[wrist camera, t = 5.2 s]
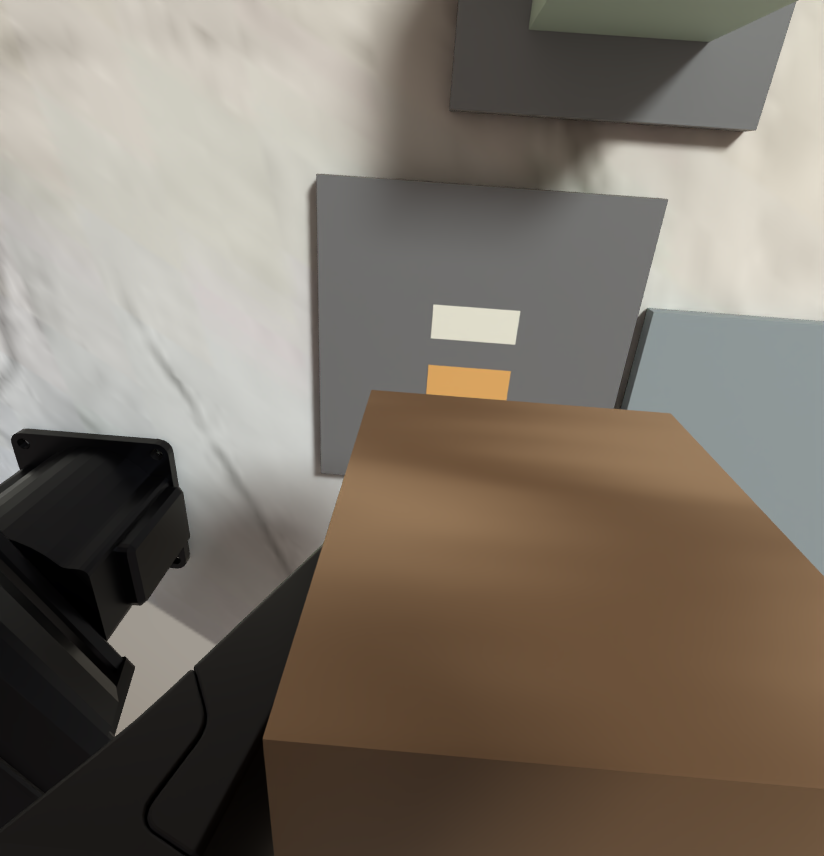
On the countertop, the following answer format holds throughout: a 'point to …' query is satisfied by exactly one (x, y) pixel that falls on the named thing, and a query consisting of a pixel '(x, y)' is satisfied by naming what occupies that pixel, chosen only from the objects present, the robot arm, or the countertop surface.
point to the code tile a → (473, 294)
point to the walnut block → (548, 648)
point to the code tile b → (611, 71)
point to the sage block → (650, 17)
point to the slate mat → (745, 405)
